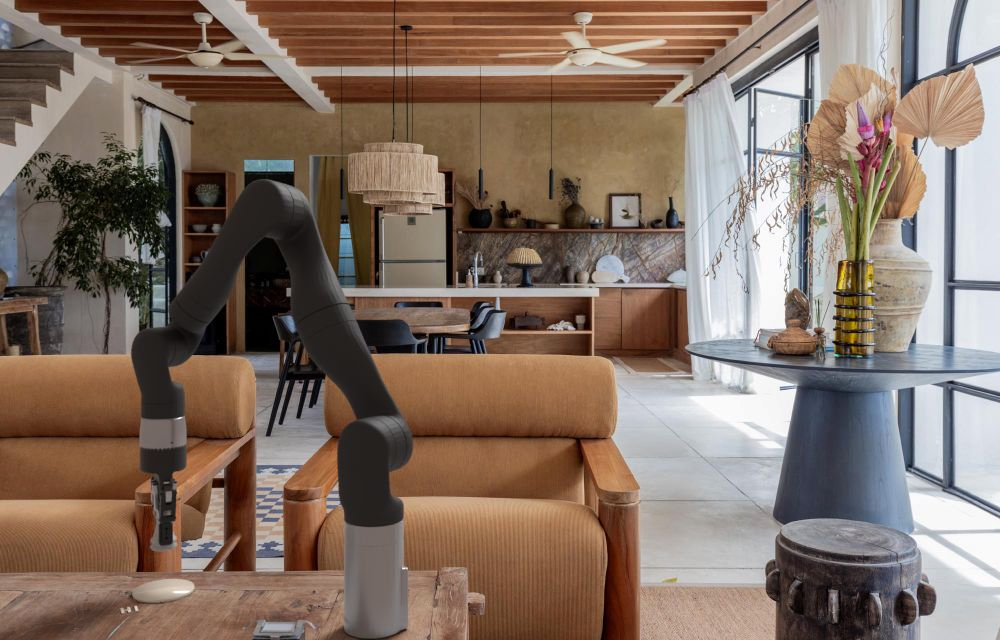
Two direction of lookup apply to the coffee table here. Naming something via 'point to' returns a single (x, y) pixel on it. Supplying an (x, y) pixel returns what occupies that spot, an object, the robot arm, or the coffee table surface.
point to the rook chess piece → (155, 538)
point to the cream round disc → (163, 590)
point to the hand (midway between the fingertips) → (163, 540)
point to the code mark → (128, 609)
